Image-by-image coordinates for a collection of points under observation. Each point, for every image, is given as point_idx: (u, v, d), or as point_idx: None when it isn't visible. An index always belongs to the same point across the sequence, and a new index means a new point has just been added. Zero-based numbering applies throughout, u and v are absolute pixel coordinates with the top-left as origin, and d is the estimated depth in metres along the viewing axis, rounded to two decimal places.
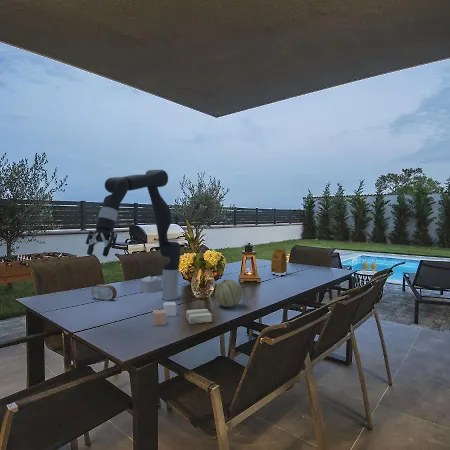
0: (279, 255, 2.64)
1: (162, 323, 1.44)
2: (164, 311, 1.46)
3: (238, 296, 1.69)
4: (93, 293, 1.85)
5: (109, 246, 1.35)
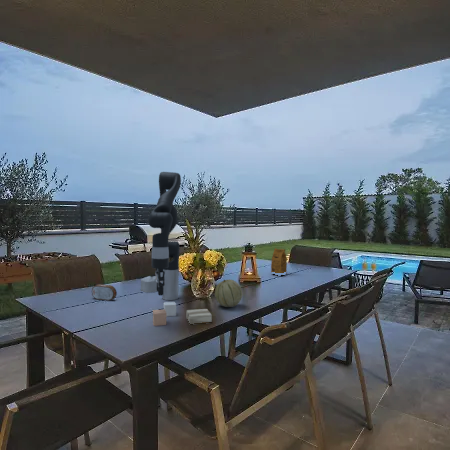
0: (279, 255, 2.64)
1: (162, 323, 1.44)
2: (164, 311, 1.46)
3: (238, 296, 1.69)
4: (93, 293, 1.85)
5: (160, 286, 1.40)
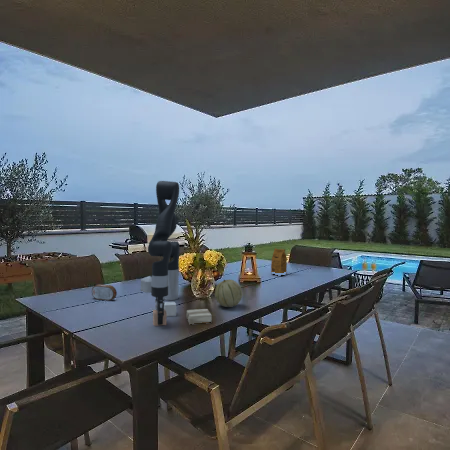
0: (279, 255, 2.64)
1: None
2: (164, 311, 1.46)
3: (238, 296, 1.69)
4: (93, 293, 1.85)
5: (159, 316, 1.41)
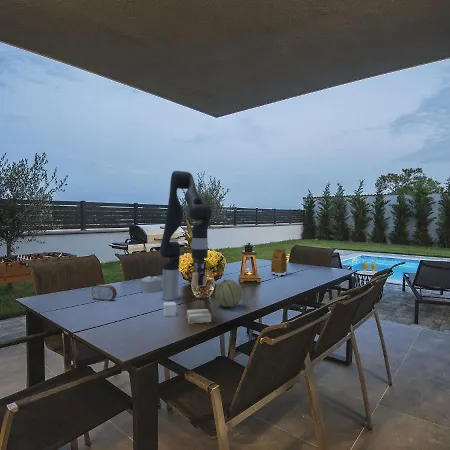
0: (279, 255, 2.64)
1: None
2: None
3: (238, 296, 1.69)
4: (93, 293, 1.85)
5: (200, 276, 1.46)
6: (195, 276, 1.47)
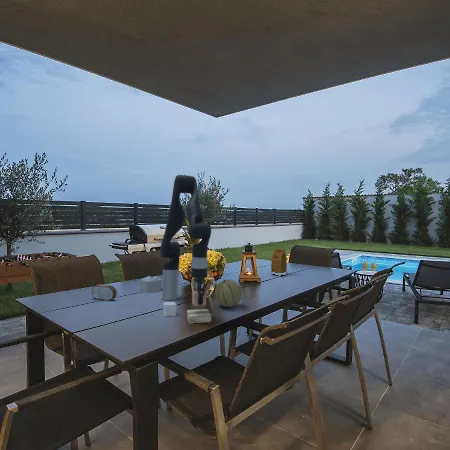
0: (279, 255, 2.64)
1: None
2: None
3: (238, 296, 1.69)
4: (93, 293, 1.85)
5: (200, 296, 1.46)
6: (195, 295, 1.47)
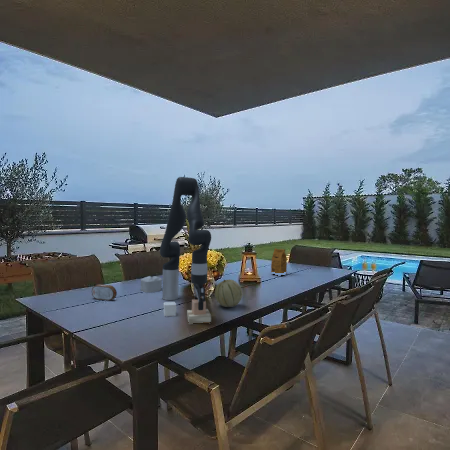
0: (279, 255, 2.64)
1: (202, 312, 1.49)
2: None
3: (238, 296, 1.69)
4: (93, 293, 1.85)
5: (200, 301, 1.45)
6: (195, 304, 1.48)
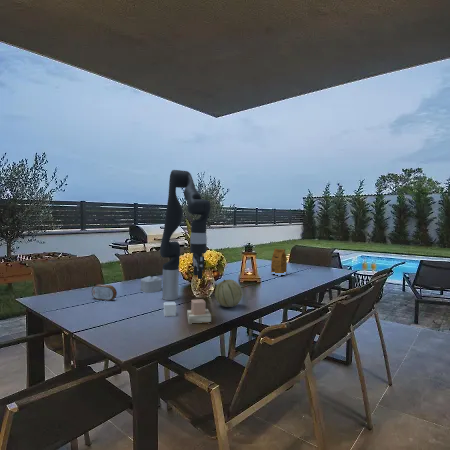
0: (279, 255, 2.64)
1: (201, 312, 1.49)
2: (203, 301, 1.51)
3: (238, 296, 1.69)
4: (93, 293, 1.85)
5: (199, 270, 1.45)
6: (194, 304, 1.47)
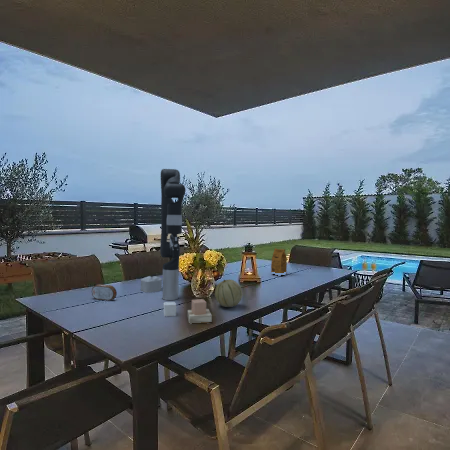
0: (279, 255, 2.64)
1: (202, 312, 1.49)
2: (203, 300, 1.51)
3: (238, 296, 1.69)
4: (93, 293, 1.85)
5: (174, 249, 1.55)
6: (195, 304, 1.47)
